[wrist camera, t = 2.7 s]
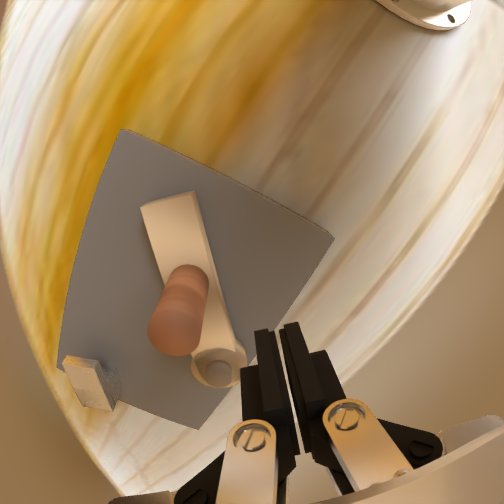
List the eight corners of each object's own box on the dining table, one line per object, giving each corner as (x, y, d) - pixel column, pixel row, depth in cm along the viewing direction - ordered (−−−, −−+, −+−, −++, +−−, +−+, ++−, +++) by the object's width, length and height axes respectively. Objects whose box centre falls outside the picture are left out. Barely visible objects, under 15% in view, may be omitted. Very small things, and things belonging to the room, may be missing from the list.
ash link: (251, 369, 22) (256, 439, 16) (202, 376, 22) (194, 445, 16) (203, 187, 17) (183, 215, 11) (140, 204, 17) (92, 239, 11)
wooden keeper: (107, 342, 21) (94, 368, 18) (122, 385, 23) (112, 411, 20) (77, 339, 21) (61, 363, 18) (93, 382, 22) (82, 406, 19)
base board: (129, 129, 17) (120, 129, 16) (328, 231, 20) (334, 238, 19) (62, 358, 23) (56, 367, 22) (199, 418, 26) (198, 429, 25)
